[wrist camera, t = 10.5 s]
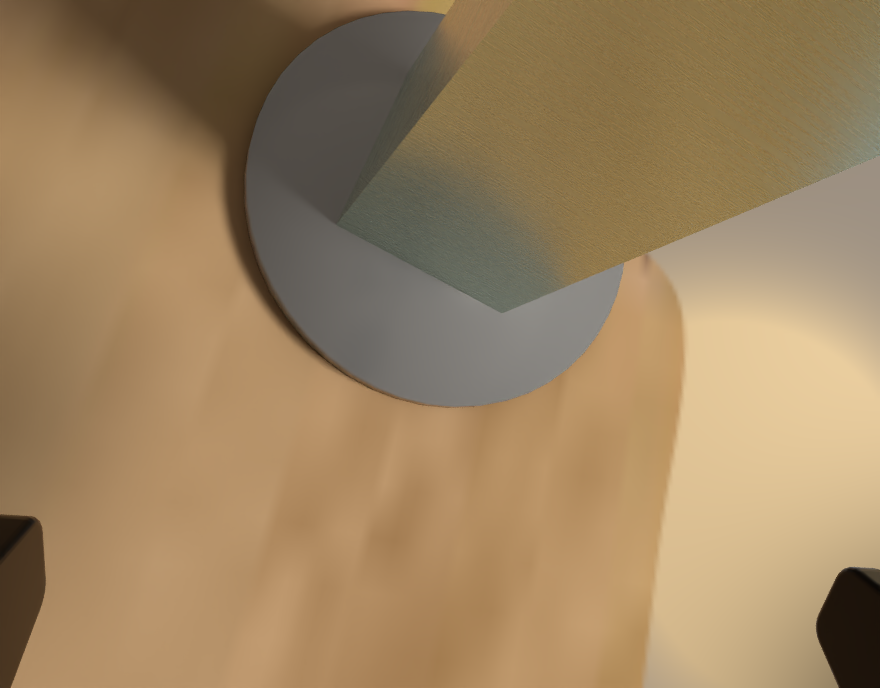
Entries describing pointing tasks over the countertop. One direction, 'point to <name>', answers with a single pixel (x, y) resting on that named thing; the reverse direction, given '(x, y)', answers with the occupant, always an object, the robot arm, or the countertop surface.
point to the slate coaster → (372, 269)
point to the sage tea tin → (609, 131)
